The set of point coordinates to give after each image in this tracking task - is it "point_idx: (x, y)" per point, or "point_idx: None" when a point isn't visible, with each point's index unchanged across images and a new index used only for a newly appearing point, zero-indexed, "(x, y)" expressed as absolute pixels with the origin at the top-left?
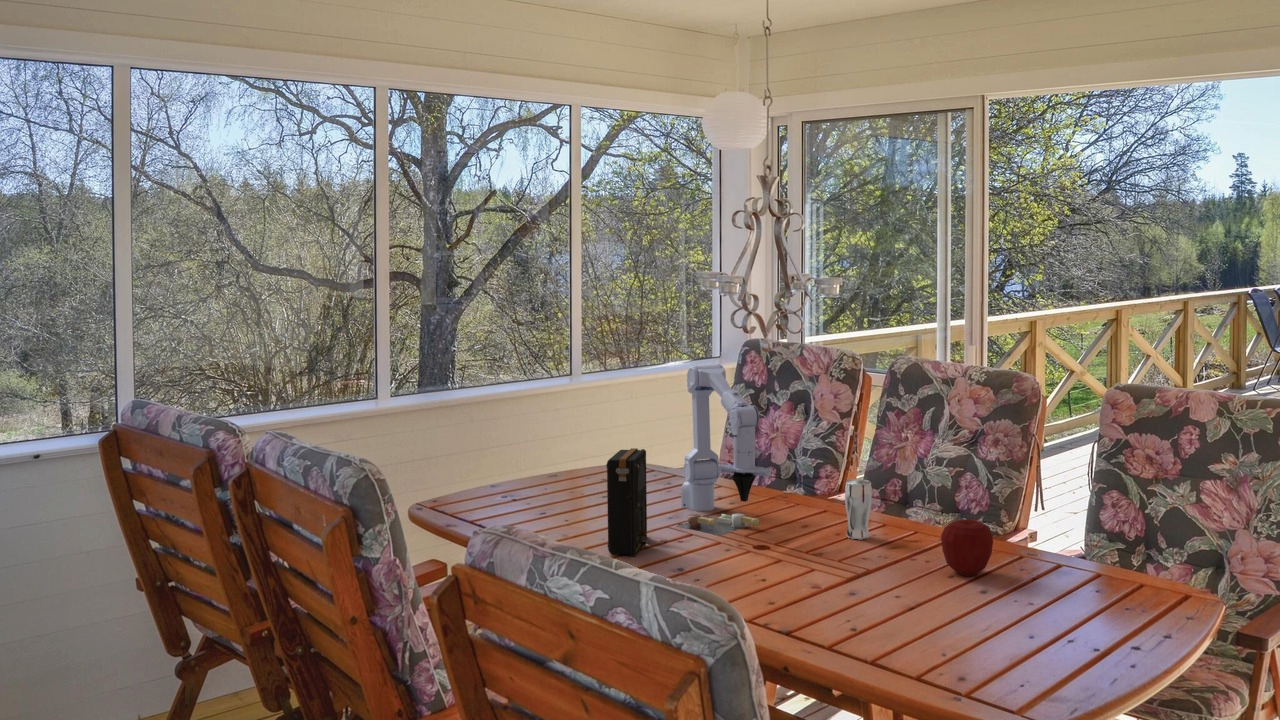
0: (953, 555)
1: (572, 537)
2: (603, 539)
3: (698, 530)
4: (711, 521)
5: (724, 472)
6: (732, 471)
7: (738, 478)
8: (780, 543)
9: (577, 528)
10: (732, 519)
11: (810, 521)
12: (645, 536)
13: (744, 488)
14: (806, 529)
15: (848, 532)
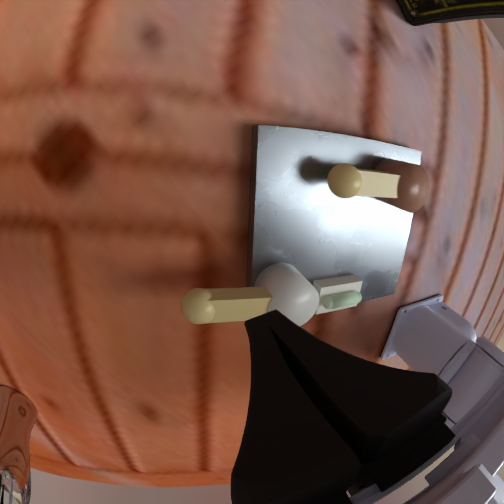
0: None
1: (480, 29)
2: (456, 24)
3: (359, 143)
4: (344, 167)
5: (499, 377)
6: (465, 432)
7: (387, 421)
8: (51, 247)
9: (499, 85)
10: (301, 276)
11: (171, 435)
12: (414, 11)
13: (278, 382)
14: (122, 399)
15: (12, 400)
